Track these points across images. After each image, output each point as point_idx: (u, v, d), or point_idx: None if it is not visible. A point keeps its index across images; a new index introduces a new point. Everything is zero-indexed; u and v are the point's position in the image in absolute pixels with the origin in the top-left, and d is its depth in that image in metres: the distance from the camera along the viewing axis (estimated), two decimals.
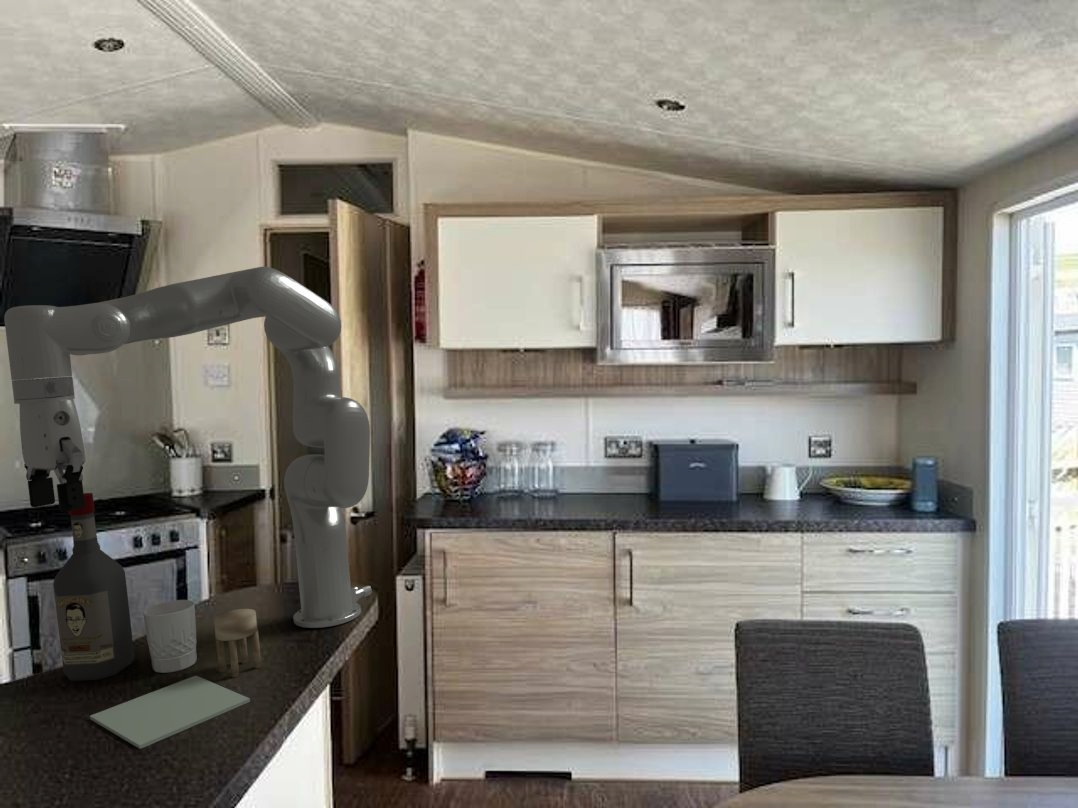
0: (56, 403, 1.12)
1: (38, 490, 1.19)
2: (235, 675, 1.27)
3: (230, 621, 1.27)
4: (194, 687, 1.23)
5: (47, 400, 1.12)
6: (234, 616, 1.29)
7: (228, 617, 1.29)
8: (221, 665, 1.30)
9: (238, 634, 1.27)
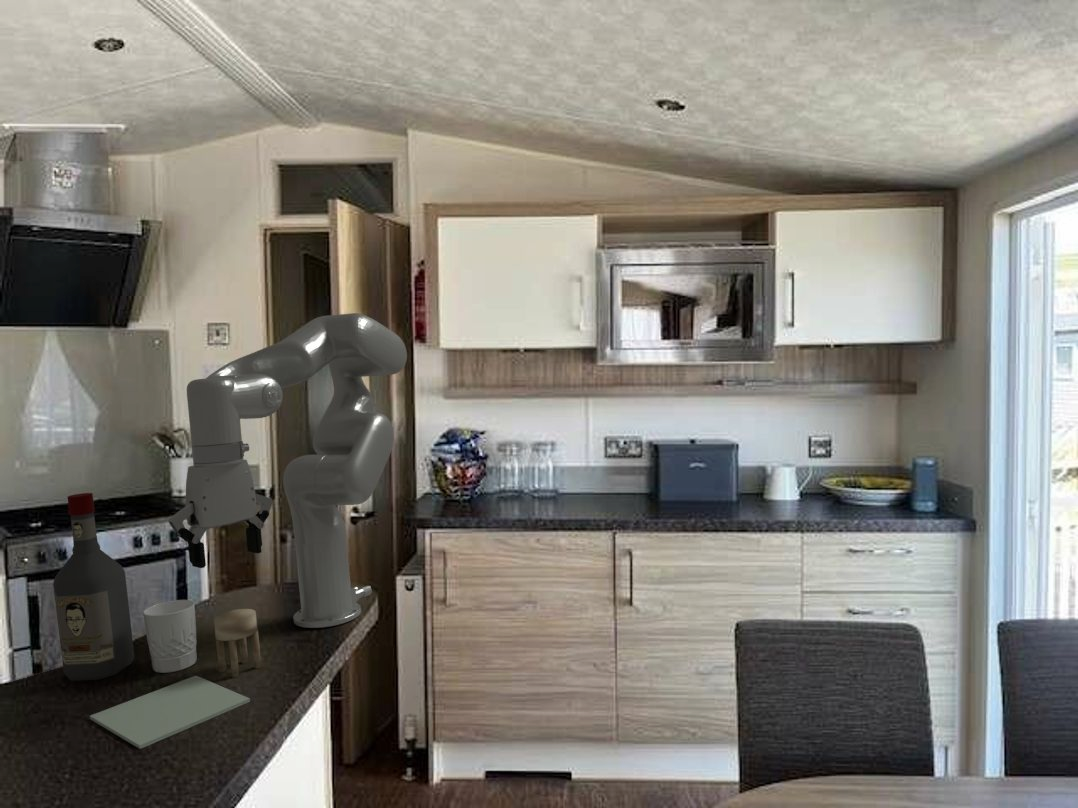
0: None
1: None
2: (235, 675, 1.27)
3: (230, 621, 1.27)
4: (194, 687, 1.23)
5: (242, 459, 1.30)
6: (234, 616, 1.29)
7: (228, 617, 1.29)
8: (221, 665, 1.30)
9: (238, 634, 1.27)
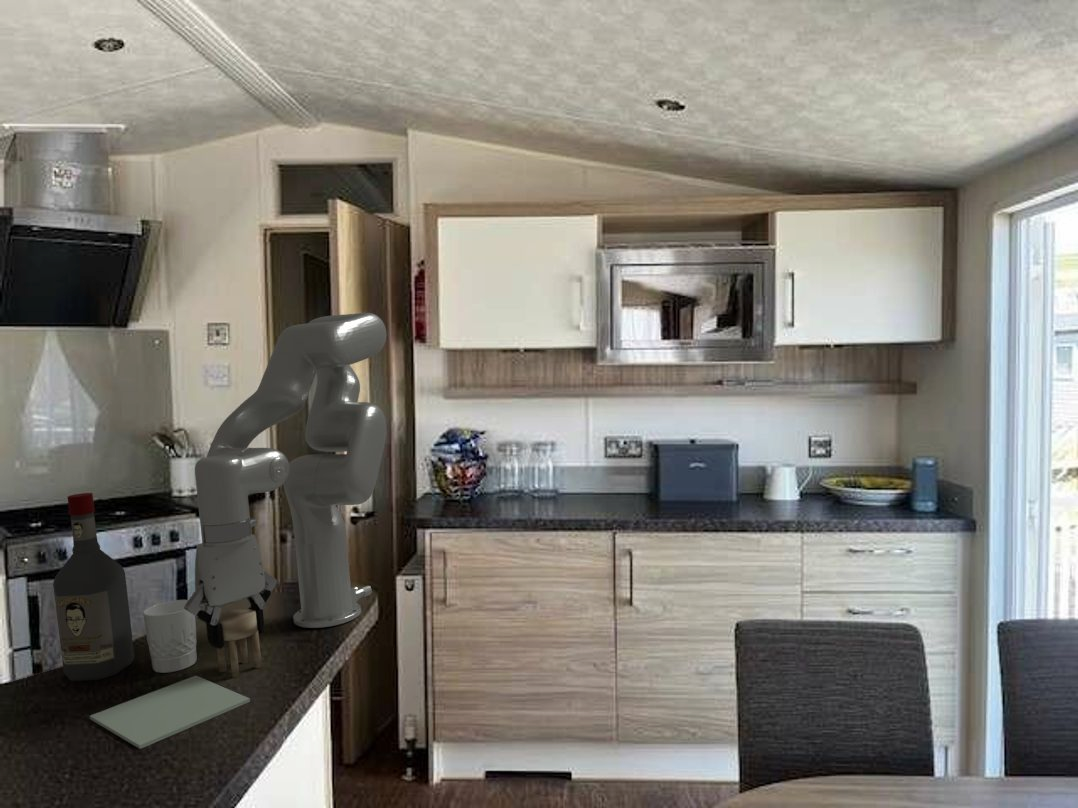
0: None
1: None
2: (235, 675, 1.27)
3: (230, 621, 1.27)
4: (194, 687, 1.23)
5: None
6: (234, 616, 1.29)
7: (228, 618, 1.29)
8: (221, 665, 1.30)
9: (238, 634, 1.27)
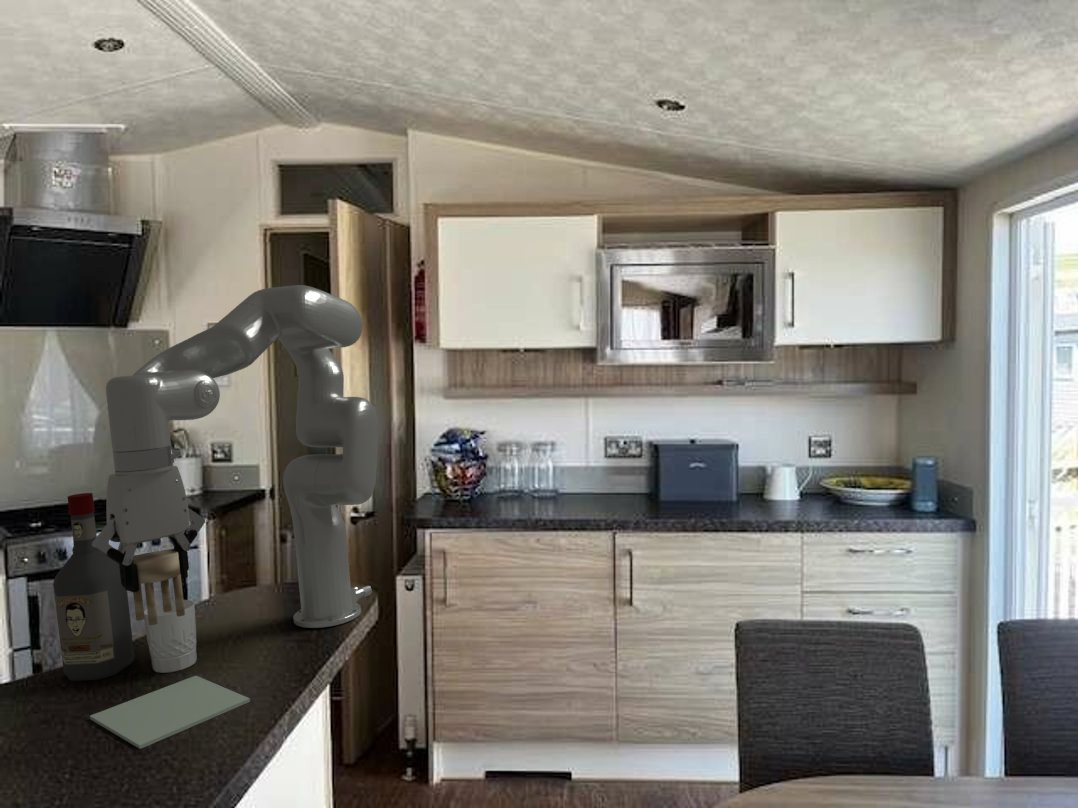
0: None
1: None
2: (152, 623, 1.12)
3: (146, 561, 1.12)
4: (194, 687, 1.23)
5: (172, 466, 1.16)
6: (153, 557, 1.14)
7: (145, 558, 1.14)
8: (138, 612, 1.14)
9: (155, 576, 1.12)
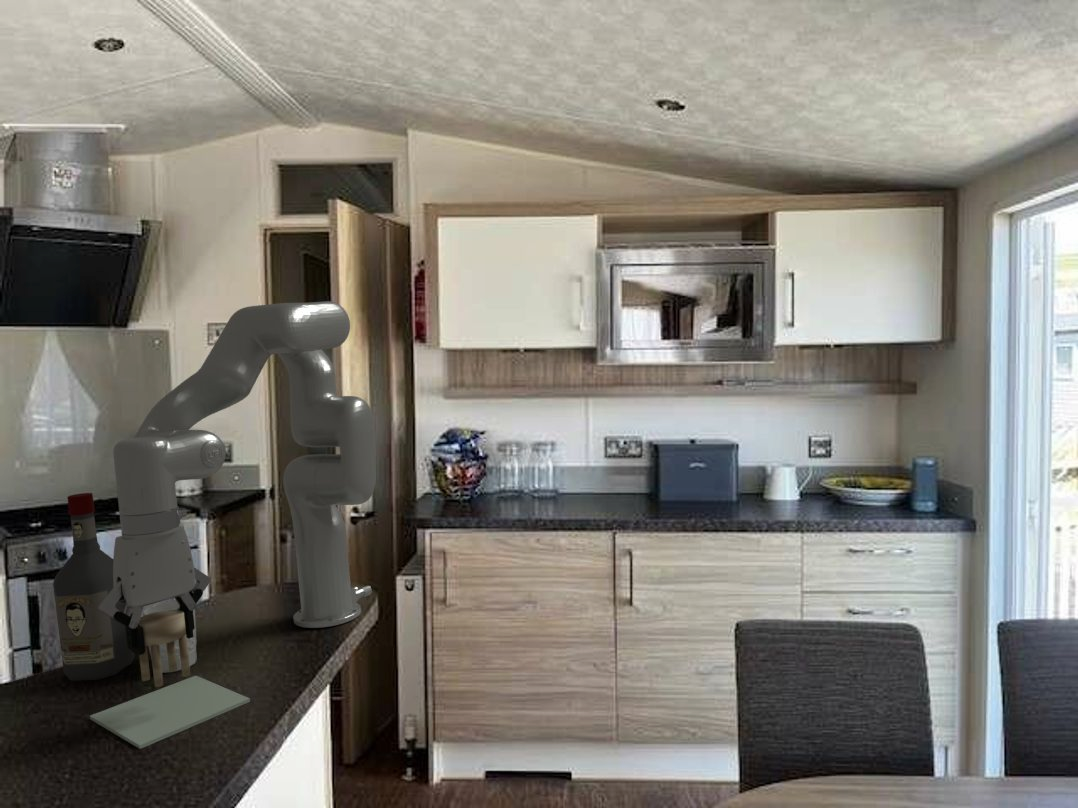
0: None
1: None
2: (158, 685, 1.13)
3: (153, 624, 1.12)
4: (194, 687, 1.23)
5: (178, 526, 1.16)
6: (159, 618, 1.15)
7: (151, 620, 1.14)
8: (144, 673, 1.15)
9: (161, 639, 1.13)
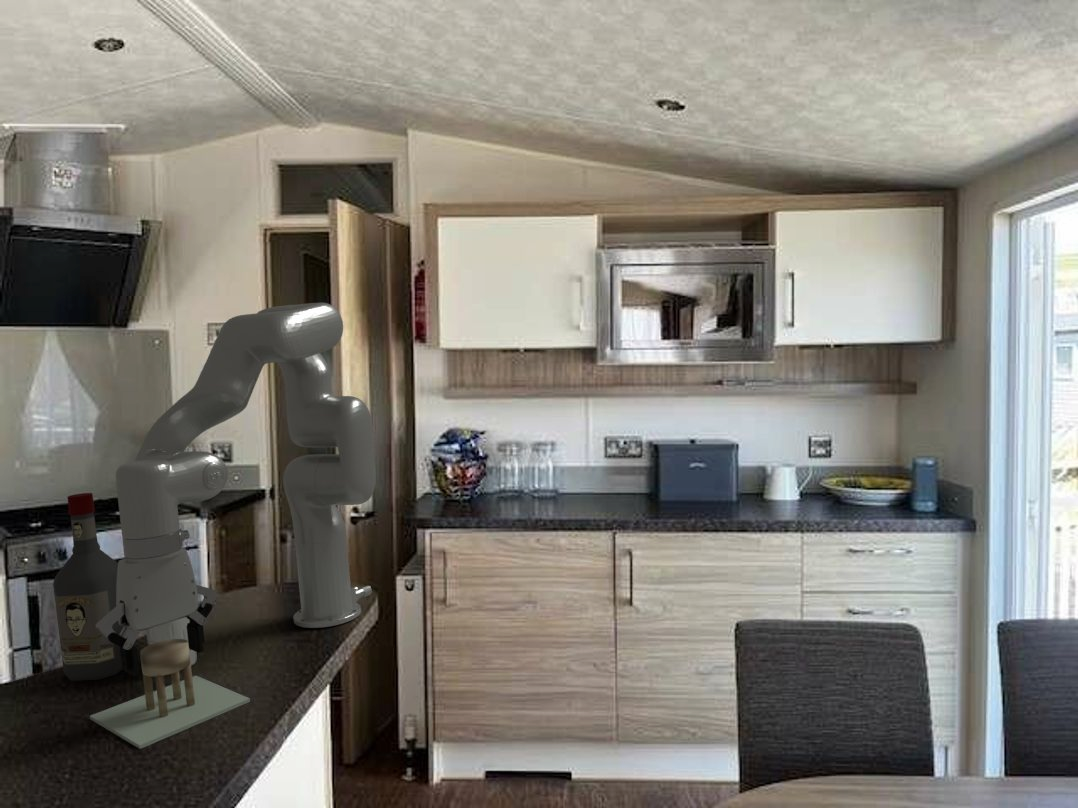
0: None
1: None
2: (163, 715, 1.13)
3: (157, 654, 1.13)
4: (194, 687, 1.23)
5: (181, 549, 1.17)
6: (164, 648, 1.15)
7: (156, 650, 1.15)
8: (149, 703, 1.16)
9: (166, 669, 1.13)
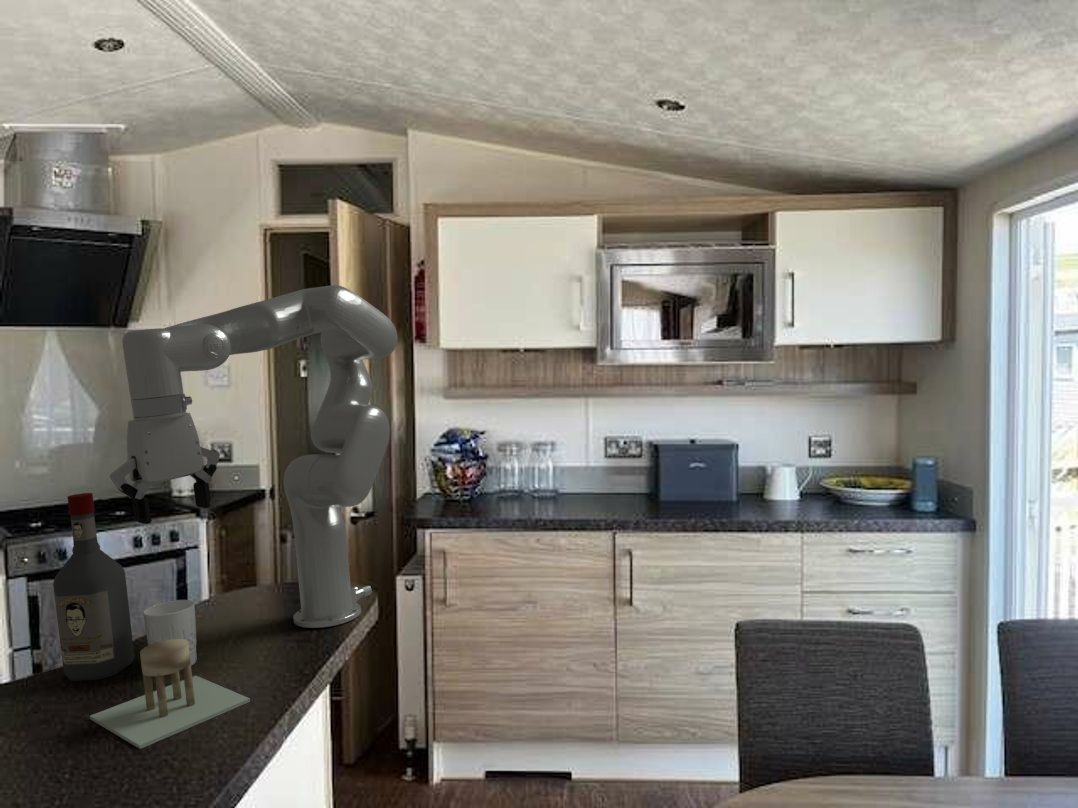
0: None
1: None
2: (163, 715, 1.13)
3: (157, 654, 1.13)
4: (194, 687, 1.23)
5: (185, 412, 1.26)
6: (164, 648, 1.15)
7: (156, 650, 1.15)
8: (149, 703, 1.16)
9: (166, 669, 1.13)
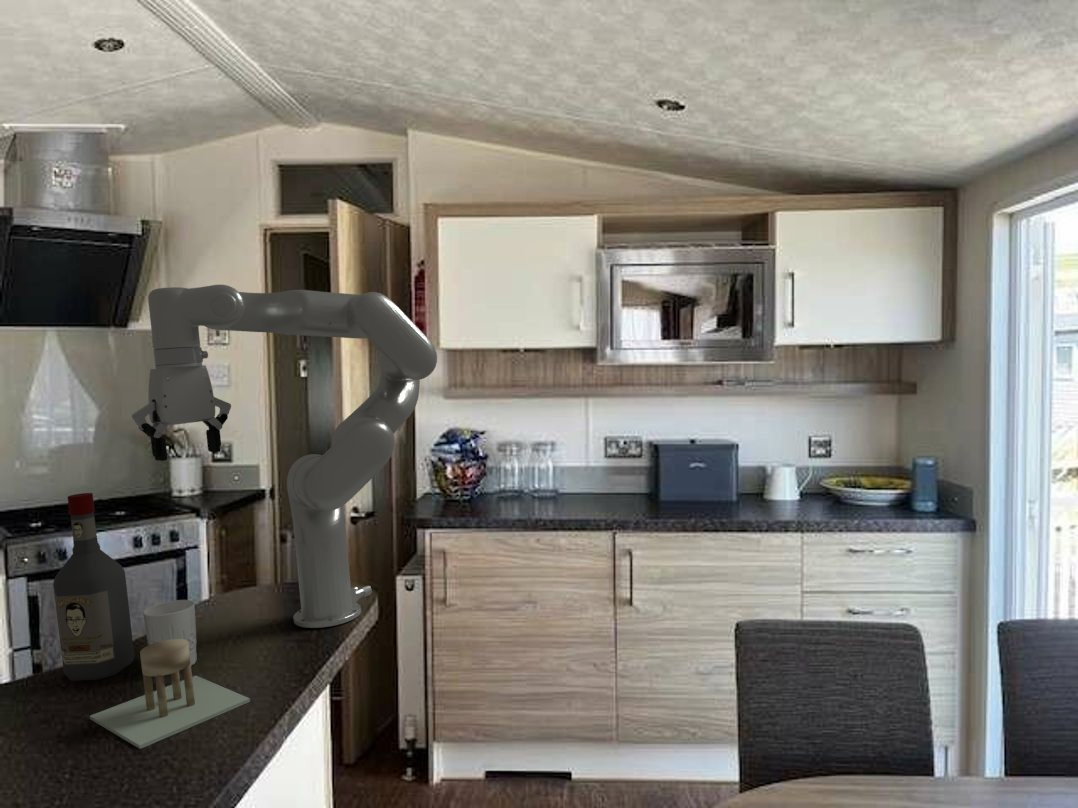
0: None
1: None
2: (163, 715, 1.13)
3: (157, 654, 1.13)
4: (194, 687, 1.23)
5: None
6: (164, 648, 1.15)
7: (156, 650, 1.15)
8: (149, 703, 1.16)
9: (166, 669, 1.13)
